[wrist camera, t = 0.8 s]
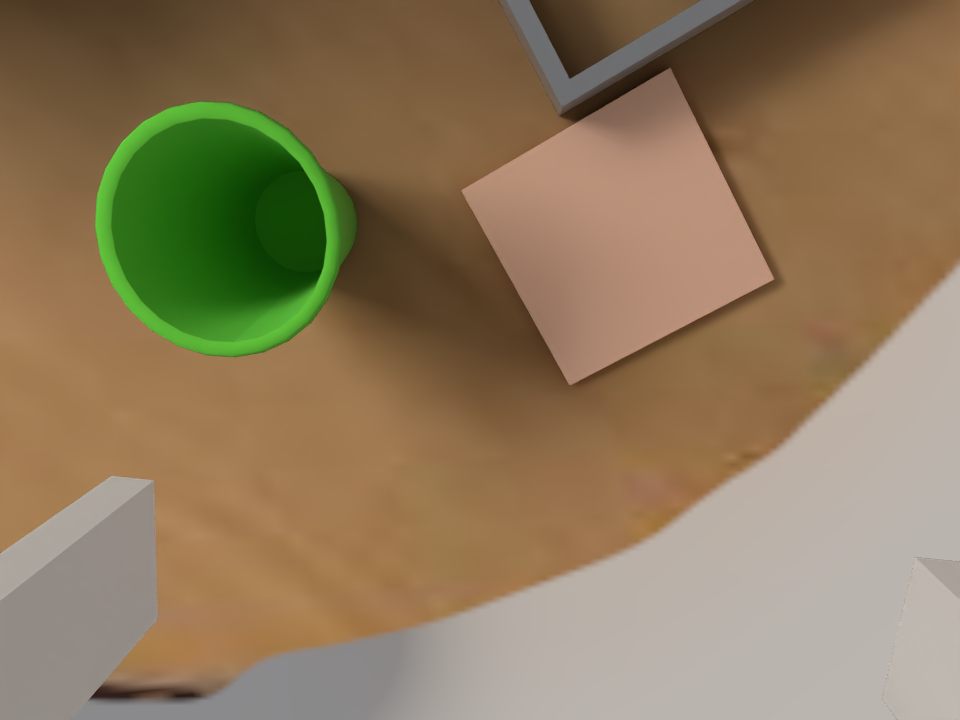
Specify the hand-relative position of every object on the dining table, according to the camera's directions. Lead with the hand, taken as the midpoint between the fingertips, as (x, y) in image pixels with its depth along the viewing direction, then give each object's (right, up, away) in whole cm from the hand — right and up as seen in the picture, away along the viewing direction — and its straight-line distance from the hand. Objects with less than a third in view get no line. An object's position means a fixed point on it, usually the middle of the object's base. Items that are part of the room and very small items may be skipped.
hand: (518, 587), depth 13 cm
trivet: (+6, +10, +23) cm, 26 cm away
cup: (-9, +11, +24) cm, 28 cm away
